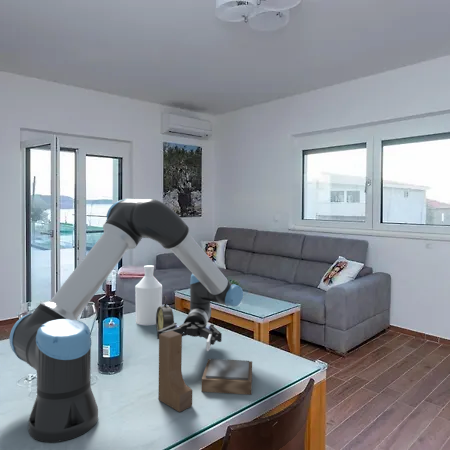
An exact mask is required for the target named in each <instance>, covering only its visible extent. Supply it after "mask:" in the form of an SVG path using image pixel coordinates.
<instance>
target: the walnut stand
mask: <svg viewBox="0 0 450 450" xmlns="http://www.w3.org/2000/svg"><path fill="white" fill-rule="evenodd" d="M252 383H253V361H252V360H244V359H243V360H241V359H226V358H225V359H222V358H209V359H207V362H206V365H205V367H204V371H203V373H202V376H201V392H202V393H217V394H218V393H219V394H236V395H252V391H253V390H252V387H253V385H252Z"/></svg>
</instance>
